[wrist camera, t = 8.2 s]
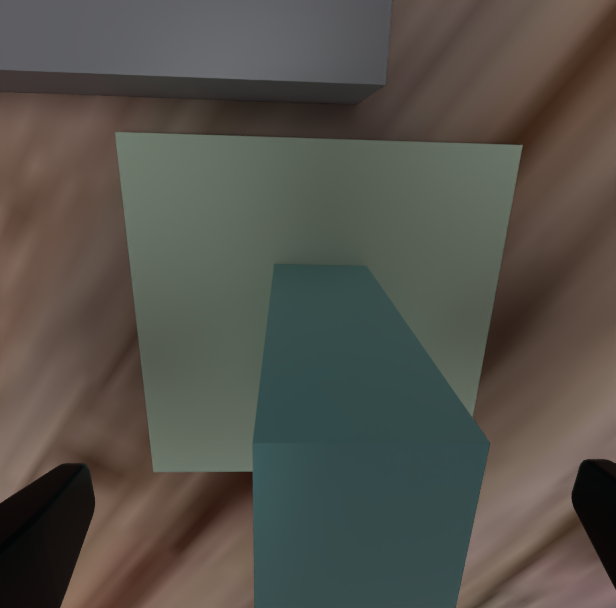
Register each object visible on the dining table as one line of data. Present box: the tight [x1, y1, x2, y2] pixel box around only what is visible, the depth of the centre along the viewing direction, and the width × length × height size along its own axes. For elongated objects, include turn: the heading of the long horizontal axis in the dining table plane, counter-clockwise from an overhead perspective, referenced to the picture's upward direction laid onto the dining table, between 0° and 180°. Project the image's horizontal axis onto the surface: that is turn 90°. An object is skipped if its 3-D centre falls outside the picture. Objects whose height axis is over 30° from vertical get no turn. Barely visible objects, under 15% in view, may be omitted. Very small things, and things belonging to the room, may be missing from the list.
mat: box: [115, 132, 523, 472], centre depth 15 cm, size 12×12×1 cm
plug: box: [252, 264, 490, 608], centre depth 10 cm, size 3×5×9 cm, turn 179°
